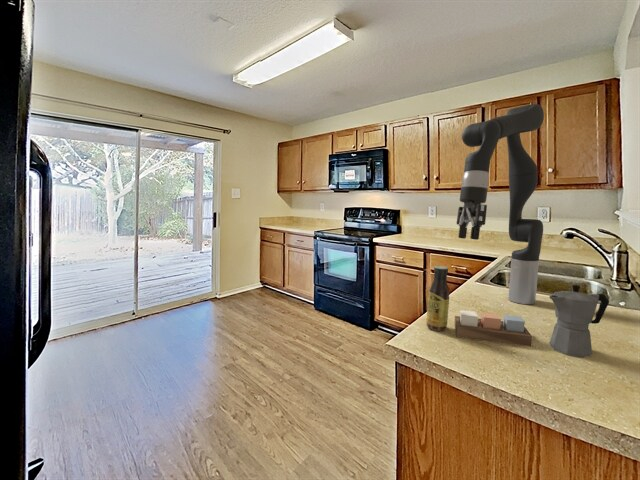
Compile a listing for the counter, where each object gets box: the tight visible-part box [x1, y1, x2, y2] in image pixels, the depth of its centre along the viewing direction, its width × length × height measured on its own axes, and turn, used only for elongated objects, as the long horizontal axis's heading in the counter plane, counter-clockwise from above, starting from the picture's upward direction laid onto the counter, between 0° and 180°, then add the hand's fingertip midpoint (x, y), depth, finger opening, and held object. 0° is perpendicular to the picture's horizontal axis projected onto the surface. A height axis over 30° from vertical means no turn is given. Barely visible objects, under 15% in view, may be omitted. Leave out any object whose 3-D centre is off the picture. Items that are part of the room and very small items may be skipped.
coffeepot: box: [548, 284, 610, 358], centre depth 85 cm, size 15×9×18 cm, turn 89°
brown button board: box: [453, 315, 533, 348], centre depth 95 cm, size 10×19×3 cm, turn 71°
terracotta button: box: [480, 312, 502, 329], centre depth 95 cm, size 4×4×4 cm
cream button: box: [459, 309, 479, 327], centre depth 97 cm, size 4×4×4 cm
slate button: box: [502, 314, 525, 332], centre depth 93 cm, size 4×4×4 cm
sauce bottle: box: [426, 265, 451, 332], centre depth 99 cm, size 7×6×20 cm
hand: (467, 238), depth 99 cm, fingers open, 8 cm apart
